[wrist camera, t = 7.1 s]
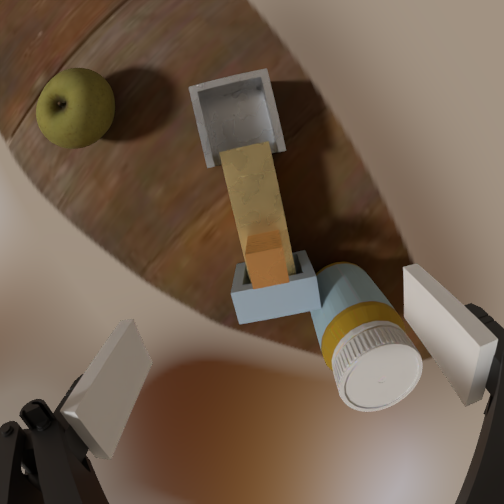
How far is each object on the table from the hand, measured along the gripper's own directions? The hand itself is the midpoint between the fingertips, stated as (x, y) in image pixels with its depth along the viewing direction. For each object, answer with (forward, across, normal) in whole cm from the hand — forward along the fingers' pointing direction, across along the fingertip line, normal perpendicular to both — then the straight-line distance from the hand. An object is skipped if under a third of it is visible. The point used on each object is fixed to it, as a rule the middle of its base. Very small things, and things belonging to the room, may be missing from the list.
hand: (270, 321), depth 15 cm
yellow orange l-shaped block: (+17, 0, +1) cm, 17 cm away
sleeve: (+18, 0, +10) cm, 21 cm away
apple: (+18, -14, +16) cm, 28 cm away
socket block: (+18, 0, -5) cm, 18 cm away
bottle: (+18, +6, -8) cm, 21 cm away
